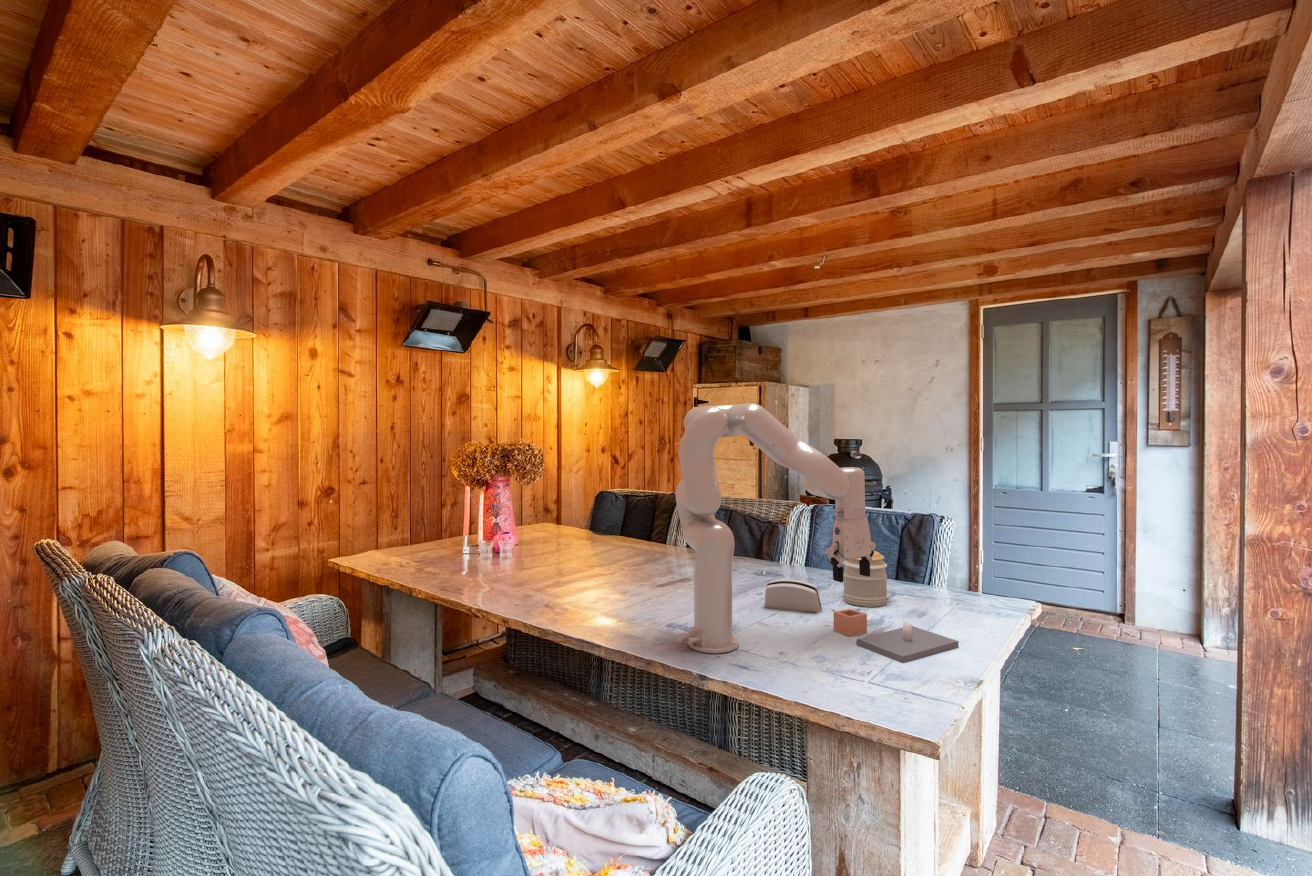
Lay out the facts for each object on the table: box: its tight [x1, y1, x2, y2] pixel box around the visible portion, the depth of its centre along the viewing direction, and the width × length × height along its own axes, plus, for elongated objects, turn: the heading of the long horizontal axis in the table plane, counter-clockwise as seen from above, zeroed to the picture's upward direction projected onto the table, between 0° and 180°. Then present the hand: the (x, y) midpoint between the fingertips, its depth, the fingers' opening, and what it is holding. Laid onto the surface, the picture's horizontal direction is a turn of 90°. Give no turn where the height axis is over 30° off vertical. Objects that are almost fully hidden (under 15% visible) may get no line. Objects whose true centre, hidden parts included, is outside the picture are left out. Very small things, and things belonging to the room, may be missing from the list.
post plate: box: [856, 622, 959, 663], centre depth 159 cm, size 20×14×6 cm
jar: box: [842, 550, 888, 608], centre depth 198 cm, size 13×13×18 cm
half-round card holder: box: [764, 578, 822, 613], centre depth 191 cm, size 17×5×10 cm, turn 67°
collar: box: [833, 608, 868, 638], centre depth 170 cm, size 6×6×5 cm
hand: (851, 578), depth 170 cm, fingers open, 9 cm apart
